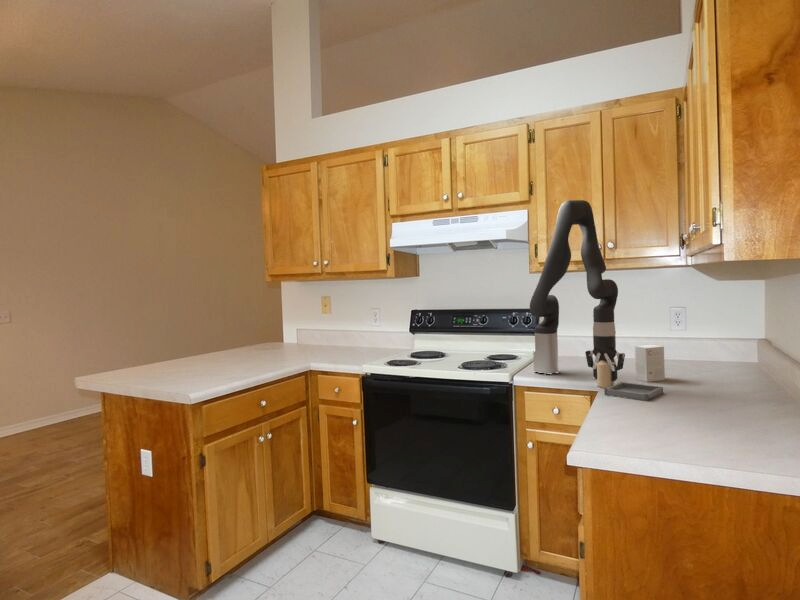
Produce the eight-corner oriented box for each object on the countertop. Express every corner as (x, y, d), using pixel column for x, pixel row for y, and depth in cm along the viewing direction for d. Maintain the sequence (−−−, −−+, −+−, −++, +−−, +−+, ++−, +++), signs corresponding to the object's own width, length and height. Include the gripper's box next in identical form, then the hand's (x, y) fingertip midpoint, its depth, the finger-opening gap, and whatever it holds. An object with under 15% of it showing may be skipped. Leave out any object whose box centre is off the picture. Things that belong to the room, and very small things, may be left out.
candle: (604, 388, 175) (603, 361, 175) (594, 385, 180) (593, 359, 180) (617, 387, 176) (616, 360, 176) (606, 384, 182) (606, 357, 181)
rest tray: (604, 394, 166) (604, 389, 166) (621, 387, 176) (621, 382, 176) (647, 401, 156) (647, 394, 156) (663, 392, 166) (663, 387, 166)
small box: (652, 377, 191) (652, 344, 190) (665, 380, 185) (664, 346, 184) (635, 379, 189) (634, 345, 188) (647, 382, 183) (646, 347, 182)
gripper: (580, 334, 180) (581, 379, 181) (619, 336, 170) (621, 384, 170) (589, 332, 185) (591, 376, 186) (628, 334, 175) (629, 380, 176)
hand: (605, 379), depth 178 cm, fingers closed on candle, 5 cm apart
